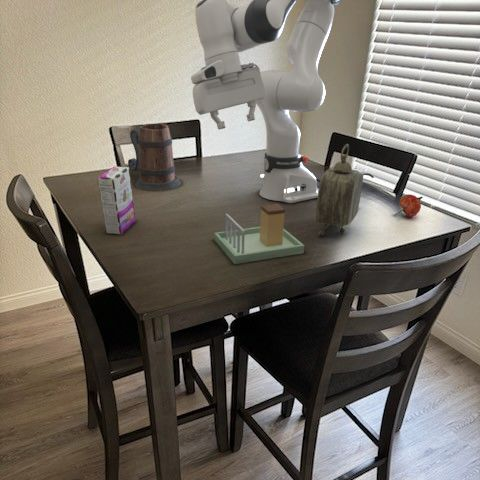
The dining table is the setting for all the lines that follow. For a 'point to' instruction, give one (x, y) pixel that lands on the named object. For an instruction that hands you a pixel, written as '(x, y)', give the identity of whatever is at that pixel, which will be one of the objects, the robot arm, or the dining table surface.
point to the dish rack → (253, 244)
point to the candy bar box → (116, 199)
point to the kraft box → (272, 224)
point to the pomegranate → (410, 205)
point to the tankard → (153, 158)
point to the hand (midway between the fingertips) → (236, 124)
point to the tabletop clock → (339, 195)
